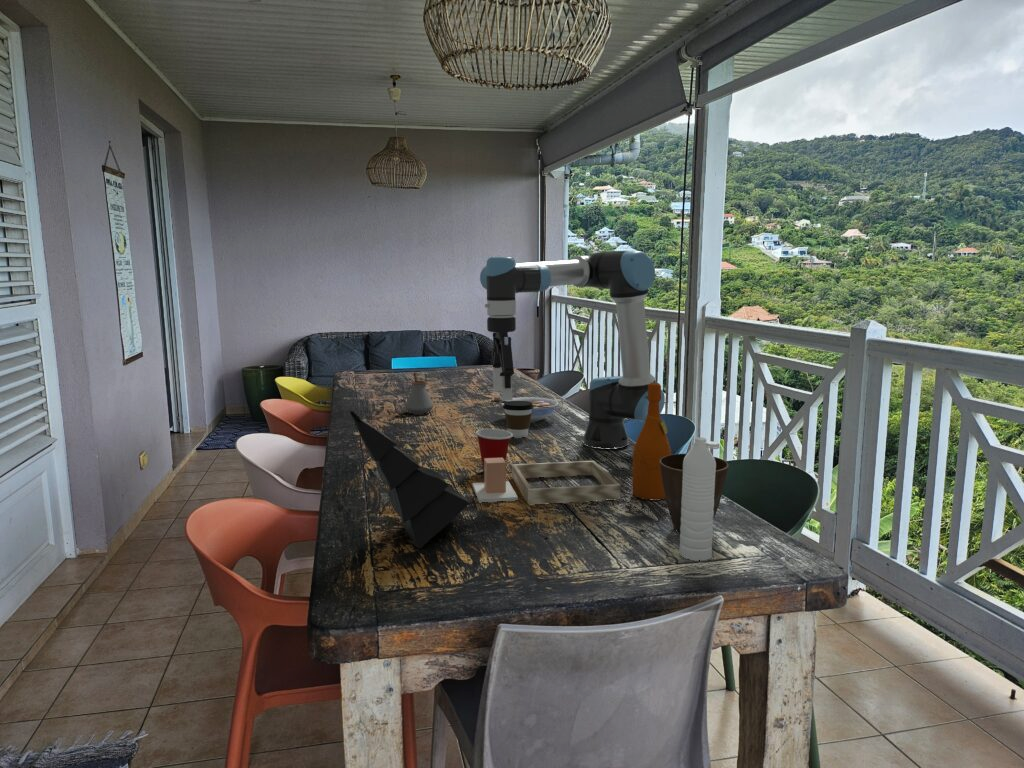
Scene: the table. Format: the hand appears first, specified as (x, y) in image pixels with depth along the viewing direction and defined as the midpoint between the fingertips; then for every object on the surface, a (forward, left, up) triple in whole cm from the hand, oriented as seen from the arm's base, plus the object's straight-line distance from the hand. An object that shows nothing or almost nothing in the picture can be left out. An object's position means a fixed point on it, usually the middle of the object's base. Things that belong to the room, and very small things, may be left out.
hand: (502, 395), depth 190 cm
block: (+3, +7, -24) cm, 25 cm away
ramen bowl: (-24, -81, -25) cm, 89 cm away
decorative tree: (+26, +35, -25) cm, 50 cm away
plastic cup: (0, -13, -25) cm, 29 cm away
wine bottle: (-37, +16, -25) cm, 47 cm away
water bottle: (-32, +56, -25) cm, 69 cm away
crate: (-16, +6, -25) cm, 30 cm away
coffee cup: (-15, -56, -25) cm, 64 cm away
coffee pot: (+18, -109, -25) cm, 114 cm away
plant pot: (-37, +41, -25) cm, 60 cm away
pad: (+3, +7, -25) cm, 26 cm away
